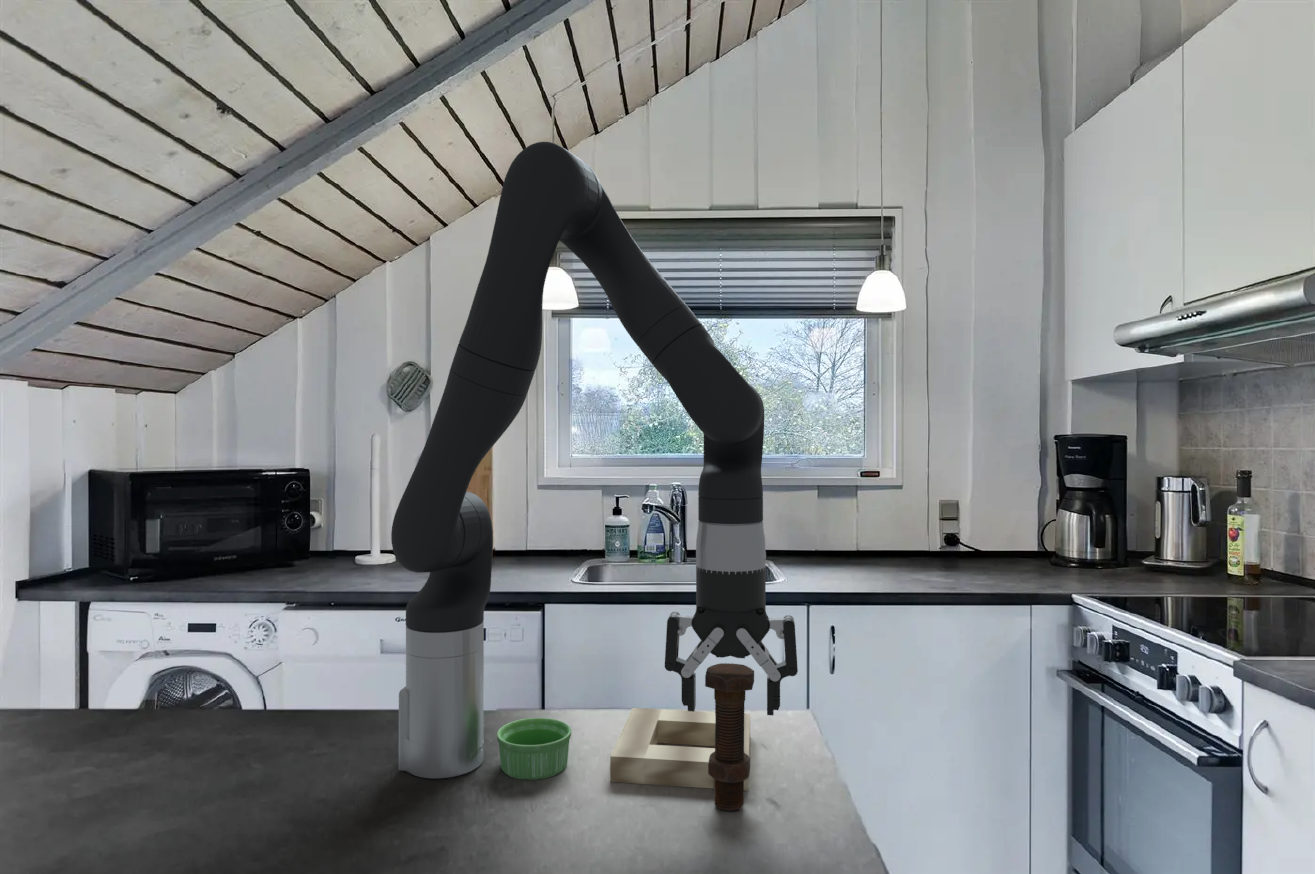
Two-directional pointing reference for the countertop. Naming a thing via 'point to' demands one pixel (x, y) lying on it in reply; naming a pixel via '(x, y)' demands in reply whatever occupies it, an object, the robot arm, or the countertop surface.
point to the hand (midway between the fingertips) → (730, 710)
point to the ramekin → (534, 747)
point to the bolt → (729, 733)
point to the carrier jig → (668, 748)
